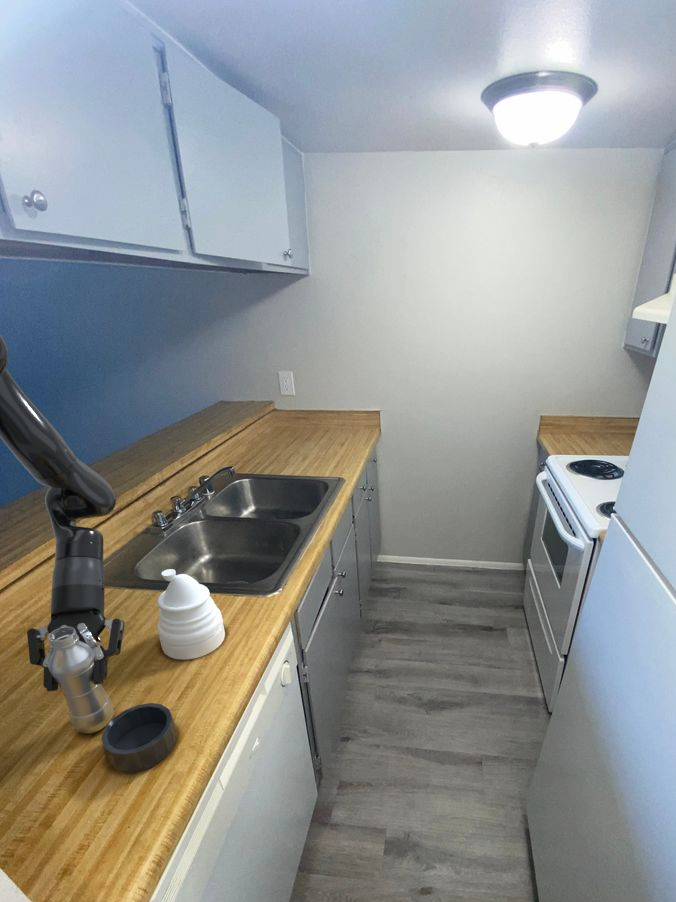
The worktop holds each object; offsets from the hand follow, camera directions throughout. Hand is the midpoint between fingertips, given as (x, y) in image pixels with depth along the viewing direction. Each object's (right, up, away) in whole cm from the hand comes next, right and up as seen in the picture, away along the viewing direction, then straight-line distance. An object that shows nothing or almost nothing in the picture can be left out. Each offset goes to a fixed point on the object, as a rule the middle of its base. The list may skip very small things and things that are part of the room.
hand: (75, 687), depth 77 cm
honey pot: (+7, +2, +27) cm, 28 cm away
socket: (+10, -11, +3) cm, 15 cm away
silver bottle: (-1, -9, +6) cm, 11 cm away
